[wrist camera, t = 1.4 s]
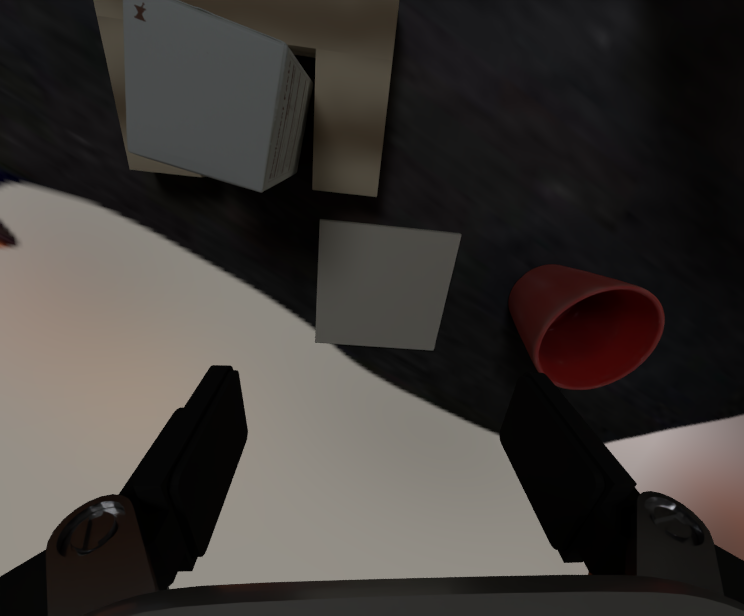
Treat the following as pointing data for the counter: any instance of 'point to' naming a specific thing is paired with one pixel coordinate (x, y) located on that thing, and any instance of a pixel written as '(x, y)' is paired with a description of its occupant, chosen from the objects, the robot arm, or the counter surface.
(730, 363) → the counter surface
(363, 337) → the tile
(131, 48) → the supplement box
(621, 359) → the flower pot
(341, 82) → the box dock
